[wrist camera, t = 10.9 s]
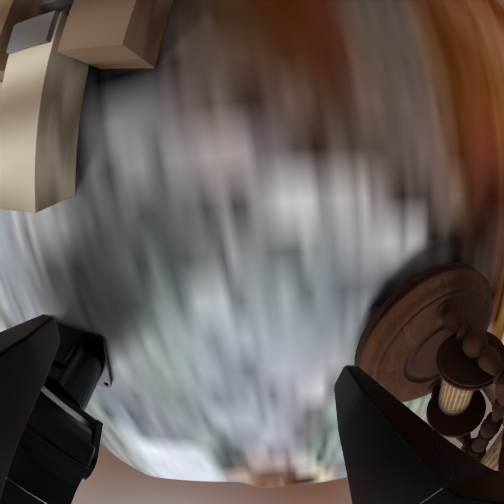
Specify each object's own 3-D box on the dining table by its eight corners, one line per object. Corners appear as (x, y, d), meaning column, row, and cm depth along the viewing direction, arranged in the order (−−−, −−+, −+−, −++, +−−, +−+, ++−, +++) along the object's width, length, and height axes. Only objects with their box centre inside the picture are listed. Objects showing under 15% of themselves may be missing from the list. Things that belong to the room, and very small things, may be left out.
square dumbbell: (154, 68, 15) (122, 44, 10) (6, 82, 13) (-39, 80, 8) (179, -17, 12) (161, -59, 7) (28, 9, 11) (-10, -6, 6)
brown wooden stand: (469, 351, 25) (553, 473, 6) (356, 403, 26) (408, 568, 8) (482, 234, 20) (644, 360, 1) (337, 291, 21) (462, 564, 2)
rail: (76, 194, 18) (30, 215, 13) (37, 191, 17) (-9, 210, 12) (99, 28, 13) (59, 4, 8) (57, 36, 13) (14, 20, 8)
